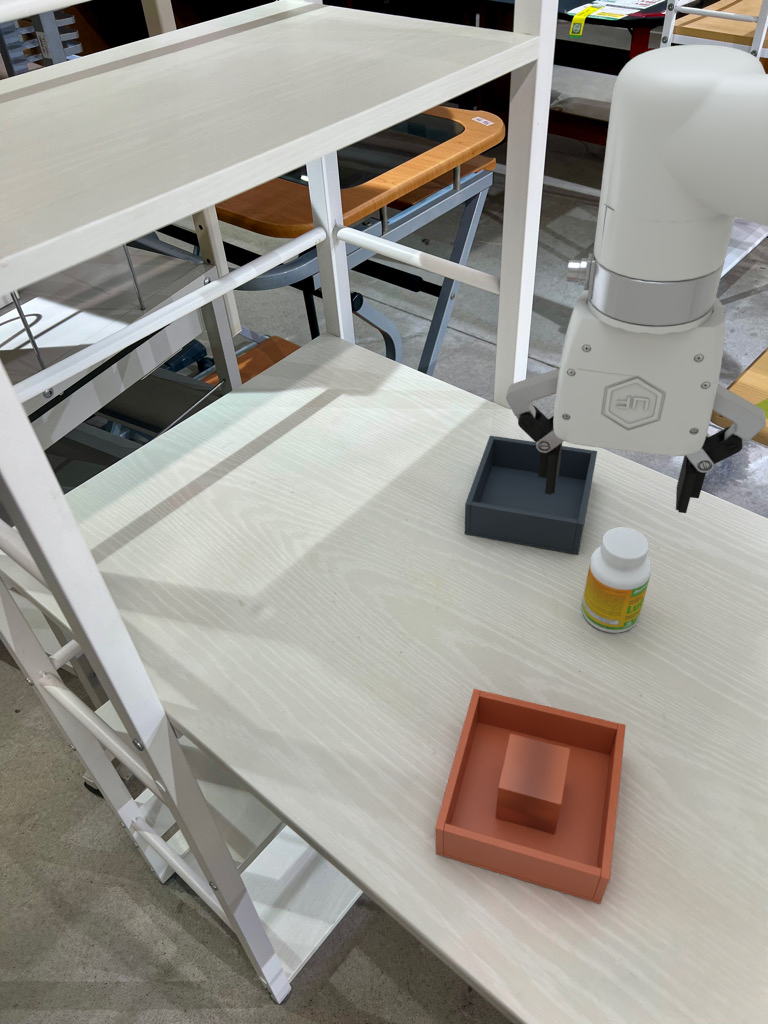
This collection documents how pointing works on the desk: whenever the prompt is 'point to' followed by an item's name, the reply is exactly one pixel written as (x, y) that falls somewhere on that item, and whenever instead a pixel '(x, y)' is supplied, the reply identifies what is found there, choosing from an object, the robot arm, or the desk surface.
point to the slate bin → (529, 496)
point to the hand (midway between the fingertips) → (615, 491)
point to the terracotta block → (532, 783)
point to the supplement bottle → (617, 580)
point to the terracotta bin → (585, 805)
